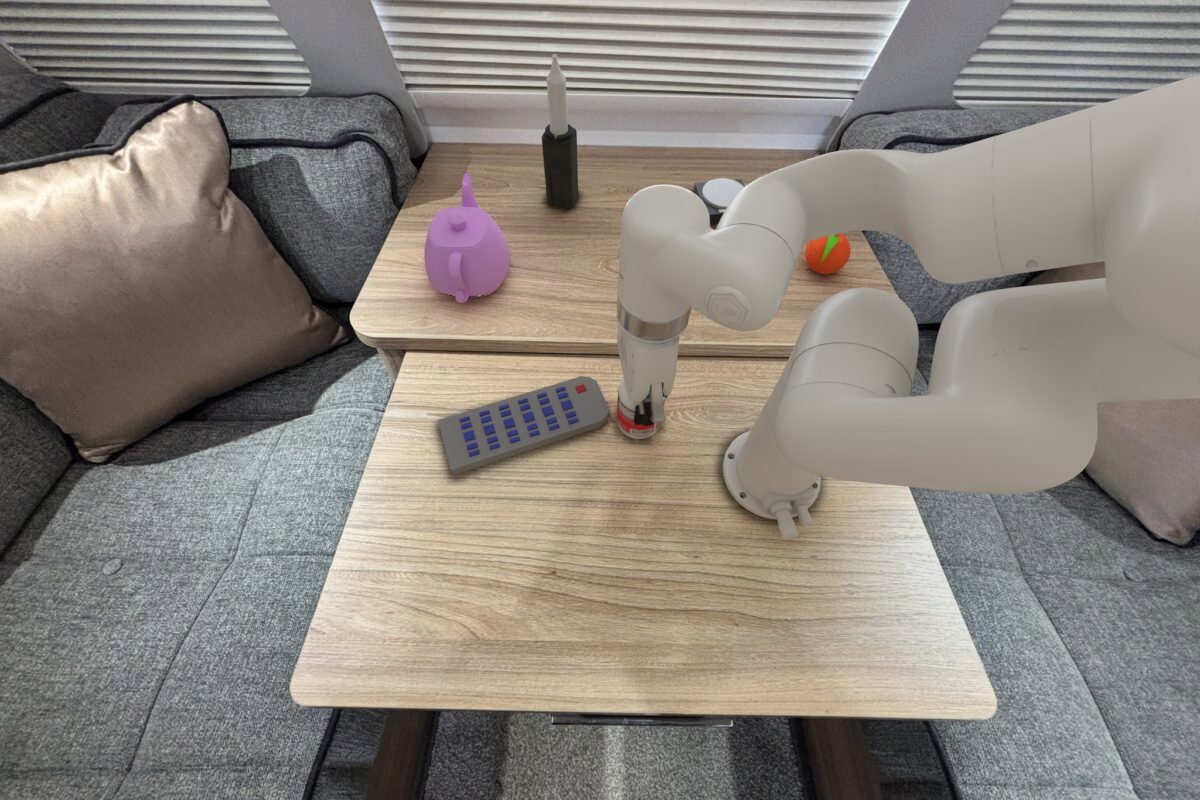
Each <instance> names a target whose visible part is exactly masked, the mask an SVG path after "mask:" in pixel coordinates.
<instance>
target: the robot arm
mask: <svg viewBox="0 0 1200 800" xmlns="http://www.w3.org/2000/svg"><path fill="white" fill-rule="evenodd" d="M620 221H621V222H620V237H619V238H620V239H619V254H618V255H619V257H618V278H617V279H618V280H617V295H616V296H617V298H616V300H617V301H616V320H617V324H618V327H617V336H616V341H617V342H616V343H617V344H616V346H617V350H618V357H619V361H620V367H621V371H622V374H623V377H624V381H625V386H626V390H627V394H628V397H629V399H630V400H631V401H632V402H633V403H637V402H638V405H636V406H635V415H634V424H635V425H643V426H650V425H653V424H654V423H659V422H661V423H665V420H666V419H665V408H664V407H665V405H664V406H663V397H665V400H667V399H668V398H669V397H670V396H671V394H672V391H673V388H674V384H675V379H676V373H677V366H678V359H679V351H680V350H679V348H680V336H681V335H682V334H683V333H684V332H685V331H686V330H687V328H688V325H689V321H690V317H691V316H690V315H691V312H692V309H693V310H694V311H696V312H697V313H700V314H701V315H702V316H704V317H706V318H707V319H709V320H710V321H712V322H714V323H716V324H718V325H720V326H721V327H725V328H727V329H730V330H734V331H739V332H752V331H757V330H759V329H762V328H763V327H765V326H767V325H768V324H769V323H770V322H772V320H773V319H774V318H775V317H776V315H777V313H778V311H779V310H780V308H781V306H782V303H783V300H784V298H785V295H786V293H787V290H788V287H789V284H790V282H791V279H792V276H793V274H794V271H795V268H796V266H797V263H798V260H799V258H800V255H801V253H802V250H803V248H804V246H805V244H806V243H809V241H812V240H815V239H819V238H823V237H827V236H831V235H836V234H840V233H841V234H844V233H845V234H846V233H852V232H862V231H869V232H870V231H871V232H879V233H885V234H887V235H891V236H894V237H896V238H897V239H899V240H901V241H902V242H904V243H905V244H907V245H908V246H909V247H910V248H911V249H912V250H913V252H914V253H915V255H916V257H917V259H918V260H919V263H920V264H921V267H922V268H923V269H924V271H925V272H926V273H927V274H928V275H929V276H930V277H931V278H932V279H933V280H935V281H938V282H939V283H943V284H947V285H959V284H965V283H971V282H976V281H983V280H989V279H996V278H1003V277H1008V276H1010V275H1011V276H1012V275H1018V274H1025V273H1026V274H1027V273H1032V272H1038V271H1045V270H1051V269H1058V268H1060V269H1061V268H1066V267H1073V266H1078V265H1079V266H1081V265H1085V264H1093V263H1101V262H1104V277H1100V278H1091V279H1081V280H1072V281H1064V282H1063V281H1062V282H1054V283H1043V284H1033V285H1026V286H1025V285H1024V286H1017V287H1016V286H1015V287H1008V288H1001V289H1000V288H999V289H993V290H988V291H983V292H978V293H975V294H971V295H970V296H967V297H965V298H963V299H961V300H959V301H958V302H956V303H955V304H953V306H951V308H950V309H949V310H948V311H947V312H946V314H945V315H944V317H943V319H942V320H941V323H940V327H939V330H938V333H937V337H936V339H935V344H934V350H933V355H932V360H931V367H930V373H929V380H928V385H927V391H926V394H924V395H913V396H912V395H911V394H912V390H913V387H914V379H915V375H916V369H917V364H918V363H917V362H918V356H919V348H920V347H919V346H920V338H919V337H920V335H919V328H918V323H917V320H916V318H915V315H914V313H913V311H912V310H911V309H910V308H909V306H908V305H907V304H906V303H905V302H904V301H903V300H902V299H901V298H899V297H898V296H897V295H895V294H894V293H891V292H890V291H886V290H884V289H880V288H876V287H867V286H866V287H865V286H864V287H862V286H861V287H854V288H849V289H845V290H841V291H839V292H837V293H834V294H832V295H831V296H830V297H828V298H826V299H825V300H824V301H822V302H821V303H820V304H819V305H818V306H817V307H815V309H814V310H813V311H812V312H811V313H810V315H809V316H808V317H807V319H806V321H805V323H804V324H803V326H802V328H801V330H800V332H799V334H798V337H797V338H796V341H795V344H794V346H793V348H792V350H791V353H790V355H789V357H788V359H787V362H786V363H785V366H784V368H783V370H782V372H781V374H780V376H779V378H778V380H777V382H776V384H775V386H774V388H773V390H772V392H771V393H770V395H769V396H768V398H767V400H766V402H765V404H764V405H763V408H762V409H761V411H760V412H759V414H758V417H757V419H756V420H755V422H754V424H753V426H752V428H751V430H748V431H745V432H743V433H741V434H740V435H738V436H736V438H734V439H733V441H732V442H731V443H730V444H729V445H728V447H727V448H726V451H725V453H724V456H723V460H722V477H723V480H724V483H725V486H726V488H727V490H728V492H729V493H730V495H731V496H732V497H733V498H734V500H735V501H736V502H737V503H738V504H739V505H740V506H742V508H744V509H745V510H747V511H749V512H750V513H752V514H754V515H756V516H758V517H762V518H764V519H770V520H777V526H778V529H779V532H780V535H781V538H782V540H785V541H786V540H793V539H795V538H797V537H799V535H800V534H799V532H798V528H797V525H796V523H795V520H793V518H795V517H798V520H799V522H800V526H801V527H808V526H812V525H813V524H814V522H813V519H812V516H811V513H810V512H809V508H810V507H812V506H813V504H814V503H815V501H816V500H817V498H818V496H819V494H820V491H821V486H822V477H825V478H829V479H835V480H840V481H847V482H857V483H866V484H875V485H876V484H877V485H887V486H894V487H895V486H896V487H906V488H914V489H915V488H917V489H925V490H938V491H947V492H957V493H968V494H969V493H970V494H980V495H982V494H983V495H999V496H1001V495H1006V496H1007V495H1008V496H1009V495H1010V496H1011V495H1021V494H1023V495H1024V494H1029V493H1035V492H1040V491H1045V490H1049V489H1053V488H1055V487H1058V486H1060V485H1063V484H1065V483H1067V482H1069V481H1071V480H1073V479H1074V478H1076V476H1078V475H1079V474H1080V473H1081V472H1083V471H1084V469H1085V468H1086V467H1087V466H1088V465H1089V463H1090V462H1091V459H1092V457H1093V455H1094V453H1095V448H1096V446H1097V442H1098V404H1100V403H1112V402H1113V403H1114V402H1140V401H1142V402H1143V401H1169V400H1170V401H1171V400H1172V401H1173V400H1194V399H1200V74H1197V75H1193V76H1190V77H1187V78H1184V79H1183V78H1182V79H1180V80H1177V81H1173V82H1170V83H1167V84H1164V85H1161V86H1157V87H1154V88H1151V89H1147V90H1144V91H1140V92H1136V93H1133V94H1130V95H1126V96H1125V97H1124V96H1123V97H1120V98H1117V99H1114V100H1110V101H1106V102H1103V103H1100V104H1097V105H1092V106H1089V107H1088V108H1084V109H1081V110H1077V111H1074V112H1071V113H1067V114H1065V115H1061V116H1058V117H1054V118H1051V119H1048V120H1043V121H1041V122H1037V123H1034V124H1031V125H1029V126H1024V127H1021V128H1018V129H1015V130H1011V131H1008V132H1004V133H1002V134H998V135H994V136H991V137H988V138H983V139H981V140H977V141H974V142H971V143H967V144H964V145H960V146H957V147H954V148H950V149H946V150H941V151H938V152H931V153H930V152H927V153H925V152H924V153H923V152H915V151H911V150H910V151H909V150H902V149H874V148H857V149H856V148H855V149H853V148H851V149H850V148H849V149H843V150H837V151H833V152H828V153H824V154H821V155H816V156H814V157H811V158H807V159H805V160H802V161H799V162H797V163H794V164H791V165H788V166H785V167H782V168H779V169H776V170H773V171H771V172H768V173H767V174H764V175H762V176H760V177H757V178H756V179H754V180H753V181H751V182H749V183H748V184H746V185H745V187H744V188H742V189H741V190H740V191H739V192H738V193H737V194H736V195H735V196H734V197H733V199H732V200H731V202H730V203H729V205H728V207H727V209H726V210H725V212H724V214H723V216H722V217H721V219H720V221H719V223H718V224H716V227H715V229H713V228H712V227H711V224H710V217H709V213H708V209H707V207H706V205H705V204H704V202H703V201H702V199H701V198H700V197H699V196H697V195H696V194H695V193H693V191H691V190H689V189H687V188H685V187H682V186H680V185H676V184H675V185H674V184H664V183H663V184H655V185H650V186H646V187H644V188H641V189H640V190H638V191H637V192H635V193H634V194H633V195H632V196H631V197H630V198H629V199H628V201H627V202H626V204H625V206H624V208H623V210H622V214H621V220H620ZM647 397H650V401H651V402H644V399H645V398H647Z"/></svg>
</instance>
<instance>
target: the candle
mask: <svg viewBox="0 0 1200 800" xmlns="http://www.w3.org/2000/svg"><path fill="white" fill-rule="evenodd" d="M558 58H559V56H558V54H556V53H553V54H552V55H551V59H552V60H551V61H552V62H551V66H550V71H549V72H548V74H547V76H546V90H547V92H546V94H547V105H548V120H549V124H547V125H546V126H545V128H544V132H543V133H542V135H541V147H542V159H543V160H542V161H543V171H544V183H545V194H546V203H547V205H549V206H550V207H552V206H554V207H559V208H564V209H565V210H569V209H572V208H573V207H574V206H575V204H576V202H577V200H578V198H579V168H578V166H579V165H578V132H577V129H576V127H572V125H571V124H569V122H568V102H567V101H568V99H567V79H566V75H564V73H563V72H562V69H561V67H560V63H559V62H558Z"/></svg>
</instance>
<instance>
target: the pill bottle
mask: <svg viewBox="0 0 1200 800" xmlns="http://www.w3.org/2000/svg"><path fill="white" fill-rule="evenodd" d="M644 402H651V401H650V397H647V398H645V399H644ZM665 402H666V398H665V397H663V406H664V407H665ZM616 405H617V406H616V424H617V426H618V429H619V430H620V431H621V432H622V433H623V434H624V435H625V436H627V437H629V438H630V439H631V438H632V439H635V440H642V439H643V440H644V439H647V438H650V437H651V436H653V435H654V434H656V432H657V431H659V430H658V429H659V428H660V425H661V423H662V422H659V423H654V424H653V425H650V426H643V425H635V424H634V415H635V406H636V405H638V402H637V403H633V402H632V401H631V400H630V399H629V397H628V394H627V390H626V386H625V381H624V376H623V377H622V378H621V380H620V382H619V384H618V388H617V404H616Z"/></svg>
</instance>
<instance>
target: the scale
mask: <svg viewBox="0 0 1200 800" xmlns="http://www.w3.org/2000/svg"><path fill="white" fill-rule="evenodd" d="M745 186H746V185H745V184H744V181H743V179H742V178H734V179H731V178H725V177H718V178H713V179H711V180H709V181H698V182H694V184H693V190H692V192H693V193H695V194H696V195H697V196H699V197H700V198H701V199H702V201H703V202H704V204H705V205H706V207H707V209H708V213H709V217H710V225H718V223H719V221H720V219H721V217H722V216H723V214H724V212H725V210H726V209H727V207H728V205H729V203H730V202H731V200H732V199H733V197H734V196H735V195H736V194H737V193H738V192H739V191H740V190H741V189H742V188H744V187H745Z"/></svg>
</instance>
